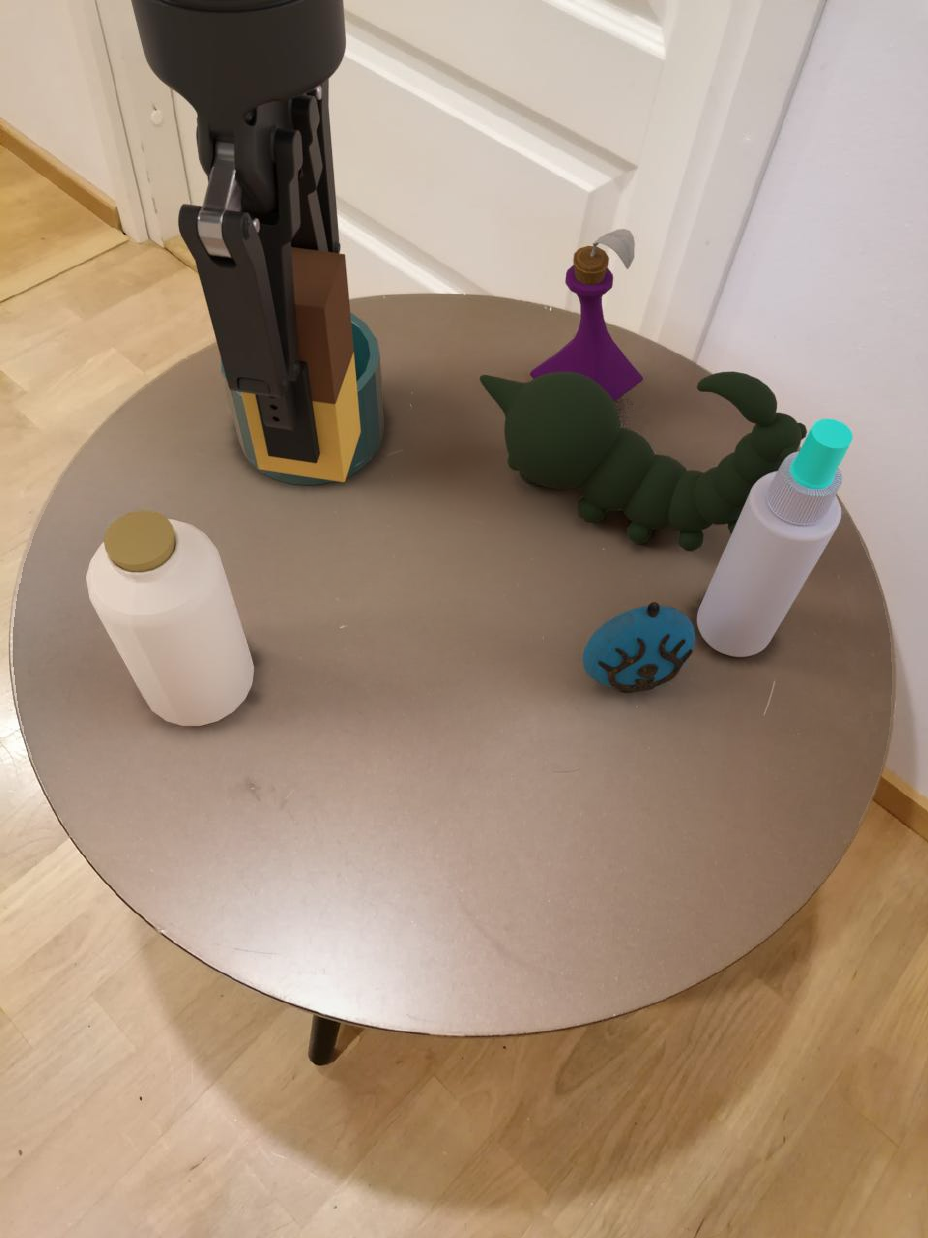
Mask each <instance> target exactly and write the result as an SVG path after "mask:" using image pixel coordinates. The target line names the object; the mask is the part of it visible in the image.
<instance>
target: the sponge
mask: <svg viewBox="0 0 928 1238" xmlns="http://www.w3.org/2000/svg"><path fill="white" fill-rule="evenodd" d="M291 255H292V270H293V284H294V298H295V312H296V327H297V341H298V355H299V361H303V362H307V367H308V374H309V381H310V388H311V395H312V401H313V409H314V416H315V422H316V429H317V436H318V443H319V450H320V456H319V458H318V461H317V463H311V462H304V461H297V460H291V459H284V458H278V457H271V456H268V453H267V448H266V443H265V438H264V434H263V429H262V424H261V420H260V415H259V410H258V405H257V401H256V396H255V394H251V393H245V392H241V394H242V398H243V402H244V407H245V411H246V415H247V420H248V424H249V429H250V433H251V437H252V442H253V446H254V450H255V455H256V459H257V464H258V468H259V469H261V470H267V471H274V472H280V473H287V474H293V475H300V476H306V477H313V478H319V479H326V480H332V481H334V482H341V483H345V482H346V480H347V477H348V476H347V473H348V470H349V467H350V464H351V461H352V458H353V454H354V451H355V448H356V445H357V442H358V439H359V435H360V432H361V429H360V418H359V406H358V395H357V383H356V372H355V361H354V349H353V338H352V327H351V315H350V312H351V304H350V295H349V294H350V293H349V282H348V272H347V271H348V269H347V258H346V254H345V253H341V252H340V253H332V252H325V251H318V250H310V249H303V248H296V247H291ZM346 476H347V477H346Z"/></svg>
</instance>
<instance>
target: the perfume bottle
mask: <svg viewBox="0 0 928 1238" xmlns="http://www.w3.org/2000/svg"><path fill="white" fill-rule="evenodd" d="M599 244H601V245H603V246H607V247H608V248H609V249H611V250H612V251H613V252H614V253H615V254H616V255H617V256H618V258H619V259H620V261H621V262H622V264H623V265H624V267H625V268H626V269H627V270H629V269H630V267H631V266H632V264H633V262H634V260H635V250H636V249H635V246H636V241H635V236H634V234H633V233H632V232H631V230H629V229H626V228H619V229H615V230H613V231H611V232H608V233H606V234H604V235H601V236H599V237H598V238H597V239H596V240H595V241H594V242H592V245H586V246H582V247H579V248H578V249H577V250H576V251H575V252H574V253H573V258H572V259H573V260H572V261H573V263H572V265H571V266H570V267H569V268H567V270H566V272H565V279H564V280H565V281H564V282H565V285H566V286H567V288H568V289H569V291H570V292H571V293H574V294H576V296H577V297H578V301H579V307H580V310H579V312H580V315H579V316H580V319H579V324H578V330H577V332H576V334H575V336H574V337H573V338H572V339H571V340H570V341H569V342H567V344H566V345H565V344H564V346H563V347H562V348H561V349H560V350H558V351H557V352H556V353H555V354H552V355H551V356H550V357H548V358H547V359H546V360H544V361H543V362H541V363H540V364H539V365H537V366H536V367H534V368H532V370H531V371H530V372H529V375H530V377H531V378H532V380H533V379H535V378H537V377H539V376H542V375H544V374H548V373H553V372H573V373H578V374H582V375H584V376H587V377H589V378H590V379H592V380H593V381H595V382H596V383H597V384H599V385H600V386H601V387H602V388H603V389H604V390H605V391H606V392H607V393H608V394H609V395H610V397H611V398H612V400H613V402H614V403H615V402H617V401H618V400H620V399H621V398H622V397H623V396H625V395H626V394H627V393H629V392H630V391H631V390H632V389H634V388H635V387H637V386H638V385H639V384H640V383H642V382H643V380H644V377H643V376H642V374H641V373H640V372H639V370H638V369H637V368H636V367H635V366H634V364H633V363H632V362H631V361H630V360H629V359H628V358H627V356H626V355H625V354H624V352H623V351H622V350H621V349H620V347H618V345H617V344H616V343H615V342H614V340H613V338H612V336H611V335H610V334H611V333H609V331H608V328H607V323H606V320H605V316H604V309H603V296H604V295H606V294H607V293H608V292H609V291H610V290H611V289H612V288H613V286H614V285H613V284H614V275H613V273H612V271H611V270H610V268H609V263H610V256H608V254H607V251H606V250H604V249H603V248H601V247H599Z"/></svg>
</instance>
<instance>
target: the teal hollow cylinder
mask: <svg viewBox="0 0 928 1238" xmlns="http://www.w3.org/2000/svg"><path fill="white" fill-rule="evenodd" d="M350 315H351V327H352V338H353V349H354V361H355V372H356V383H357V395H358V406H359V418H360V429H361V432H360V435H359V439H358V442H357V445H356V448H355V451H354V454H353V458H352V461H351V464H350V467H349V470H348V473H347V476H346V478H347V477H349V476H352V475H353V474H354V473H357V472H358V471H360V470H361V469H362V468H364V467H365V466H366V465H367V464H368V463H369V462H370V461H371V460H372V459H373V458H374V456H375V455H376V454H377V452H378V450H379V449H380V447H381V444H382V442H383V437H384V427H385V420H384V419H385V418H384V417H385V416H384V402H383V400H384V399H383V384H382V367H381V354H380V348H379V342H378V338H377V336H376V335H375V334H374V332H373V331H372V329H371V328H370V327H369V324H367V323H366V322H365V321H364V320H362V319H361V318H360V317H358V316H357V315H355V314H354V313H353V312H351V311H350ZM220 372H221V375H222V379H223V383H224V388H225V391H226V395H227V399H228V403H229V407H230V411H231V416H232V419H233V423H234V428H235V431H236V436H237V440H238V442H239V444H240V448H241V450H242V452H243V455H244V456H245V457H246V459H247V461H248V462H249V463H250V464H251V465H252V466H253V467H254V468H255V469H256V470H258V471H259V472H260V473H262V474H263V475H265V476H267V477H269V478H271V479H274V480H275V481H279V482H282V483H285V484H291V485H298V486H299V485H300V486H316V485H317V486H318V485H325V484H329V483H333V482H335V481H332V480H326V479H319V478H313V477H306V476H300V475H293V474H287V473H280V472H274V471H267V470H261V469H259V468H258V464H257V459H256V455H255V450H254V446H253V442H252V437H251V433H250V429H249V424H248V420H247V415H246V411H245V407H244V402H243V398H242V394H241V392H238V391H231V390H230V388H229V386H228V382H227V378H226V375H225V371H224V367H223V363H222V360H221V359H220Z"/></svg>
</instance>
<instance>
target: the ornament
mask: <svg viewBox="0 0 928 1238" xmlns="http://www.w3.org/2000/svg"><path fill="white" fill-rule="evenodd" d="M695 644H696V631H695V626H694V624H693V622H692V621H691V619H690V618H689V616H687V615H686V614H685V613H684V612H682V611H681V610H679V609H676V608H675V607H672V606H666V605H660V603H658V602H655V601H652V602H651V603H649V604H648V605H645V606H640V607H635V608H633V609H629V610H627V611H626V610H625V611H624V612H621V613H620V614H618V615H615V616H614V617H613V618H611V619H609V620H607V621H606V622H605V623H604V624H602V625H601V626H600V627H599V628H598V629H596V631H595V632H594V633H593V634H592V635H591V636H590V637H589V639H588V641H587V643H586V645H585V647H584V649H583V653H582V666H583V669H584V672H585V673H586V674H587V675H588V676H589V677H590V678H592V679H593V680H594V681H596V682H597V683H598V684H600V685H604V686H607V687H609V688H613V689H616V690H619V692H621V693H623V694H629V693H630V694H631V693H639V692H645V691H650V690H653V689H654V688H656V687H659V686H661V685H664V684H666V683H668V682H670V681H671V680H673V679H674V678H676V676H677V675H678V674H679V673H680V671H681V669H682V668H683V667H684V666H685V664H687V662H688V661H689V659H690V657H691V656H692V655H693V653H694V649H695Z"/></svg>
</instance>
